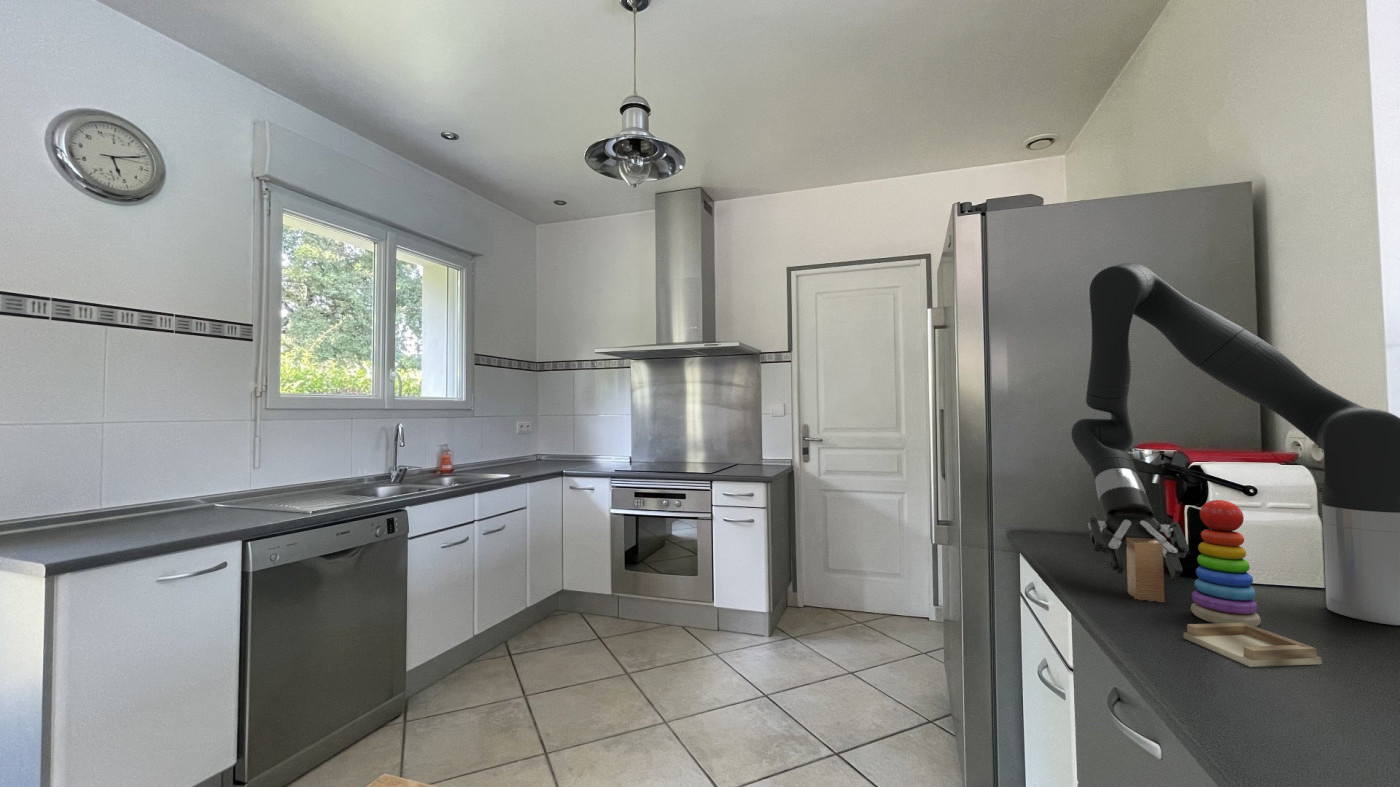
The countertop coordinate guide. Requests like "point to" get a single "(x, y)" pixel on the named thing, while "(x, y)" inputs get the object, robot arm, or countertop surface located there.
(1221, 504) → the stacking toy
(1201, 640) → the wooden tray
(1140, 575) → the brown rectangular block
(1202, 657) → the countertop surface
